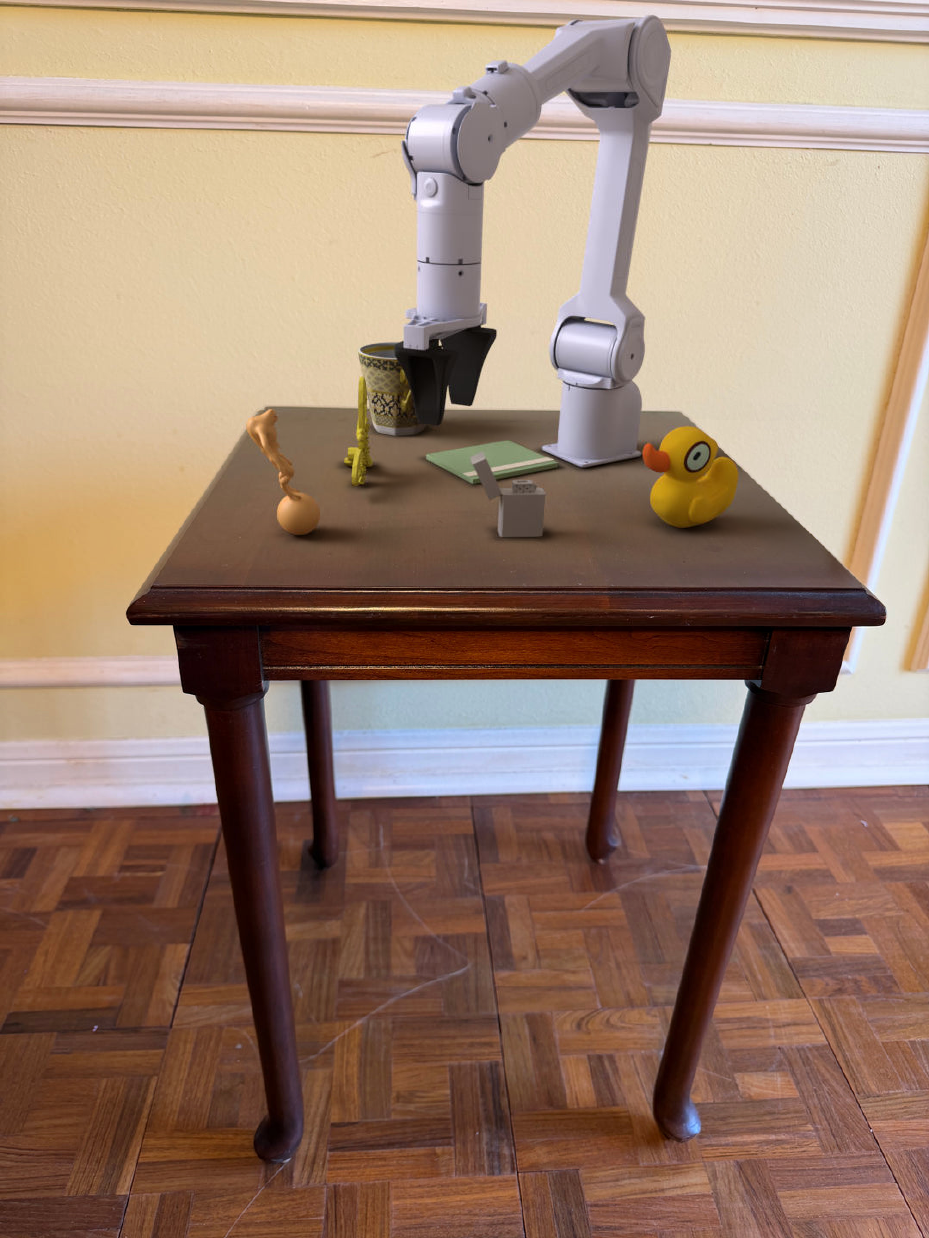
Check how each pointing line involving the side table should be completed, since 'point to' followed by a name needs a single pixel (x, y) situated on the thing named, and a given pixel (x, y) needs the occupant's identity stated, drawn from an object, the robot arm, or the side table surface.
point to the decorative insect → (360, 440)
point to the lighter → (513, 502)
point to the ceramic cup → (388, 391)
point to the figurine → (284, 478)
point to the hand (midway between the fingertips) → (446, 413)
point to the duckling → (690, 478)
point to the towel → (492, 460)
